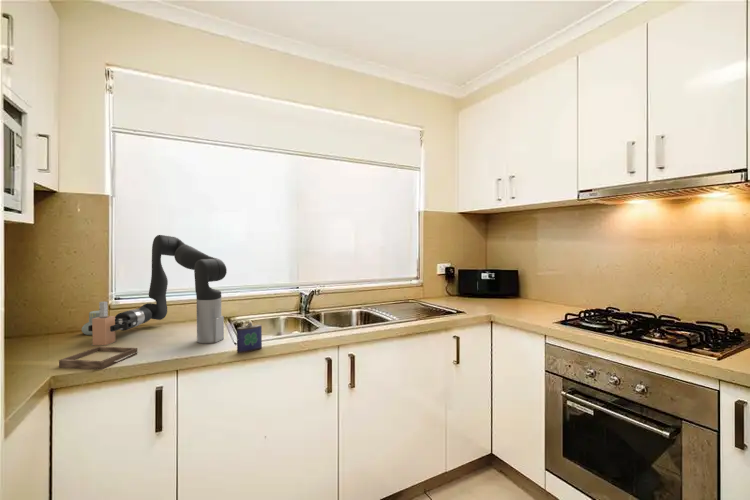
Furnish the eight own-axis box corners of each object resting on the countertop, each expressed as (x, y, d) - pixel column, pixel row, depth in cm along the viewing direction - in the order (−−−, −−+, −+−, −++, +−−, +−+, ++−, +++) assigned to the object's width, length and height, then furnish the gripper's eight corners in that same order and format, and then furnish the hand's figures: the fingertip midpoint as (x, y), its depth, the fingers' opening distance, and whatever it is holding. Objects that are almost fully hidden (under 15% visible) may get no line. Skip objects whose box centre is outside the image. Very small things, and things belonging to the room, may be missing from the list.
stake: (117, 343, 144) (116, 300, 143) (105, 348, 138) (105, 303, 137) (102, 343, 144) (101, 300, 143) (90, 347, 138) (89, 303, 137)
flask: (260, 347, 140) (260, 319, 140) (263, 349, 138) (263, 320, 138) (236, 351, 135) (235, 323, 134) (238, 353, 132) (238, 324, 132)
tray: (137, 354, 131) (137, 348, 131) (101, 369, 116) (101, 362, 116) (99, 352, 132) (99, 346, 132) (59, 367, 118) (58, 360, 117)
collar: (115, 341, 143) (114, 316, 143) (105, 345, 138) (105, 318, 138) (102, 341, 144) (102, 315, 143) (92, 344, 139) (92, 318, 138)
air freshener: (101, 331, 163) (100, 308, 162) (117, 331, 161) (116, 309, 161) (77, 337, 152) (77, 313, 152) (94, 338, 151) (94, 314, 150)
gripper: (113, 310, 155) (81, 318, 139) (146, 310, 155) (118, 319, 139) (113, 327, 155) (82, 338, 139) (146, 328, 155) (118, 338, 139)
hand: (100, 328), depth 139 cm, fingers open, 8 cm apart
